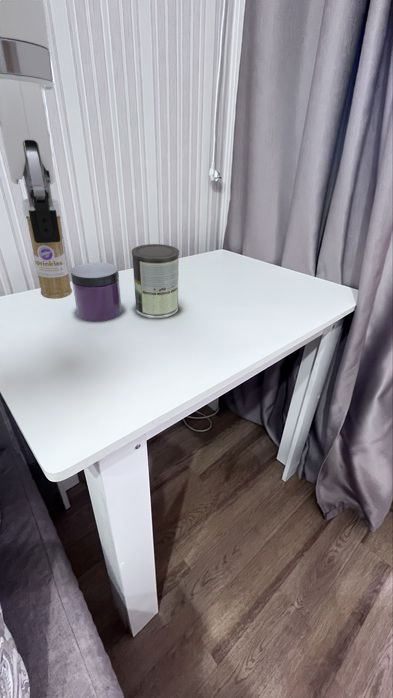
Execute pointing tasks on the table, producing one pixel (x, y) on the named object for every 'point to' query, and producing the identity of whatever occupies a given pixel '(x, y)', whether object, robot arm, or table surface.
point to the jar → (98, 301)
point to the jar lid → (94, 274)
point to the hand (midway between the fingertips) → (46, 235)
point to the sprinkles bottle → (50, 260)
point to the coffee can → (156, 280)
